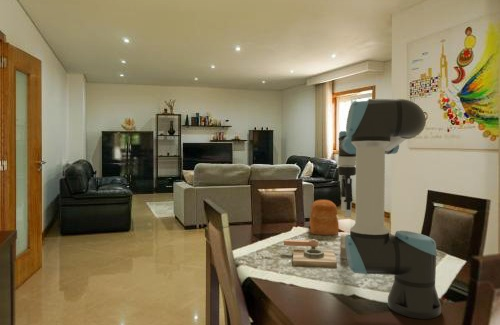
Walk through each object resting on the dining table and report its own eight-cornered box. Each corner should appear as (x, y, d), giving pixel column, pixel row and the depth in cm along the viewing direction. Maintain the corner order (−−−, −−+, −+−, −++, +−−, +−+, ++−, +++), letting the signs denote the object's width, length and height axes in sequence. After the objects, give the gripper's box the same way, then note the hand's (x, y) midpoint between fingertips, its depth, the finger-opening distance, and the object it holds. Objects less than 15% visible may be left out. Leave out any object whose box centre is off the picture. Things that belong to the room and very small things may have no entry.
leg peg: (351, 259, 167) (351, 236, 166) (340, 258, 168) (341, 236, 167) (349, 256, 171) (350, 234, 171) (339, 255, 172) (340, 233, 171)
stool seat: (336, 267, 156) (336, 258, 156) (292, 265, 159) (292, 256, 158) (333, 254, 174) (333, 246, 174) (293, 252, 176) (293, 244, 176)
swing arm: (317, 244, 176) (317, 238, 176) (318, 247, 172) (318, 241, 172) (283, 243, 177) (283, 237, 177) (283, 245, 173) (283, 240, 173)
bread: (335, 225, 234) (335, 198, 233) (339, 236, 208) (340, 205, 207) (309, 225, 236) (309, 197, 235) (310, 235, 210) (311, 204, 209)
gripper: (360, 168, 154) (359, 220, 156) (352, 164, 179) (351, 209, 180) (341, 168, 155) (340, 219, 157) (335, 164, 180) (334, 208, 181)
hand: (346, 214), depth 168 cm, fingers open, 13 cm apart
